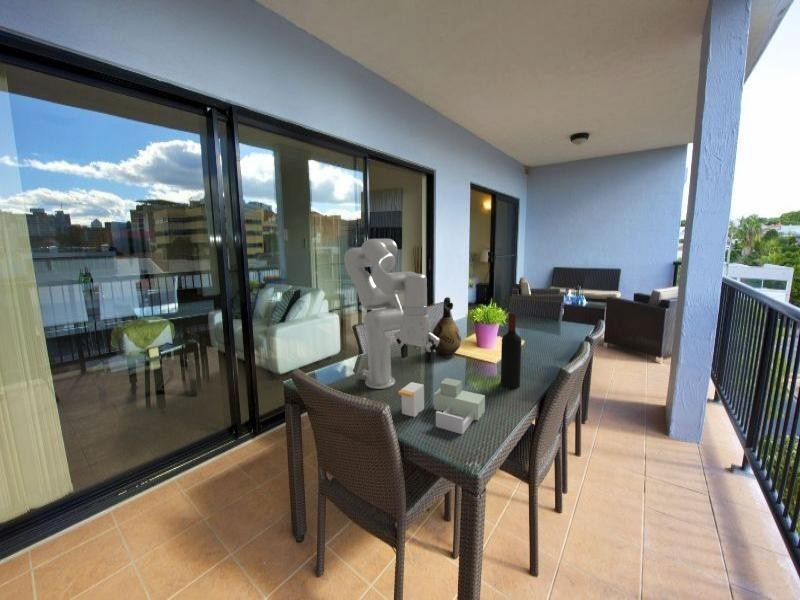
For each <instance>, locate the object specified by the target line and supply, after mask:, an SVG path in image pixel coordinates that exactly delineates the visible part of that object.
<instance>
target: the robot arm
mask: <svg viewBox="0 0 800 600" xmlns="http://www.w3.org/2000/svg"><path fill="white" fill-rule="evenodd" d="M397 254H398V245H397V243H396V242H395V241H394V239H392V238H369V239H367V240H365V241H364V242H363V243H362V245H361V247H359V246H358V247H353V248H349V249H348V250H346V252H345V254H344V259H343V260H344V266H345V269H346V272H347V274H348V276H349V277H350V278H351V281H352V283H353V284H354V287H355V289H356V293H357V296H358V299H359V302H360V304H361V306H362V308H364V309H365V310H366V311H367V310H368V312H366V313H365V314H364V316H363V324H364V329H365V333H366V345H367V346H366V347H367V364H368V365H367V366H368V367H367V368H368V369H364V370H363V372H362V377H366V380H365V386H366V387H367V388H370V389H375V390H383V389H388V388H390V387H393V386H394V385H395V383H396V379H395V377H393V376H392V361H391V359H392V357H391V341H390V339H389V338H388V336H387V335H386V334H385V333H386V332H393V331H396V330H397V332H395V333H393V335H394V336H393V337H394V338H395V340H396V342H397V344H398V345H399V348H400V355H401V359H405V358H407V357H408V355H409V353H408V350H409V349H408V345H410V346H416V347H424V348H425V349H426V352H425V356H426V357H425V363H426V364H430V363H431V362H432V361H433V359H434V351H435V350H434V349H435V348H436V347H437V346H438V344H439V342H440V339H439V338H438V337H436V336H435V335H433V334H432V326H431V319H430V318H431V317H430V315H429V314H428V286H427V285H428V284H427V283H428V279H427V275H425V274H423V273H416V272H413V271H397V272H394V271H393V272H390V271H392V269H393V268H394V267H395V265H396V256H397ZM368 267H370V268H372V274H371V273H369V271H367V270H366V269H365V268H368ZM400 294H404V296H403V297H404V303H403V304H404V306H402V305H401V302H400V299H399V298H400V297H399V296H398V295H400ZM369 310H370V311H369ZM398 330H399V331H398ZM431 340H433V341H434V344H433V345H432V344H431Z"/></svg>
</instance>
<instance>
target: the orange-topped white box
mask: <svg viewBox="0 0 800 600" xmlns="http://www.w3.org/2000/svg"><path fill="white" fill-rule="evenodd" d="M397 393H398V395H399V396H401V414H402V415H406V416H410V417H412V416H413V418H415V417H416V416H418V415H419V414H420V413H421V412H422V411H423V410H424V409H425V385H424V384H421V383H418V382H414V381H411V382H410V383H408V384H407V385H405V386H404V387H403V388H401V389H400V390H398V391H397ZM419 412H420V413H419ZM418 413H419V414H418Z"/></svg>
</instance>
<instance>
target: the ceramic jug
mask: <svg viewBox="0 0 800 600" xmlns="http://www.w3.org/2000/svg"><path fill="white" fill-rule="evenodd" d="M453 308H454V304H453V302H451V298H450V297H449V296H446V297H445V298H444V299H443V310H442V311H443V312H442V316H441V318H440V319H439V321H438V322H437V324H436V325H435V326H434V328H433V330H432V331H431V333H432V334H433V335H435V336H436V337H438V338H439V339H440V342H439V344H438V346H437V347H436V348H435V349H434V350H433V351H434V352H435V354H436V356H437V357H440V358H446V359H447V358H451V357H454V355H455V353H456V352H457V351H458V350H459V349H460V347H461V344H462V337H461V332H460V330H459V326H457V324H456V322H455V320H454V319H453V318H452V314H451V310H453ZM431 344H432V345H433V344H434V341H433V340H431Z"/></svg>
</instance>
